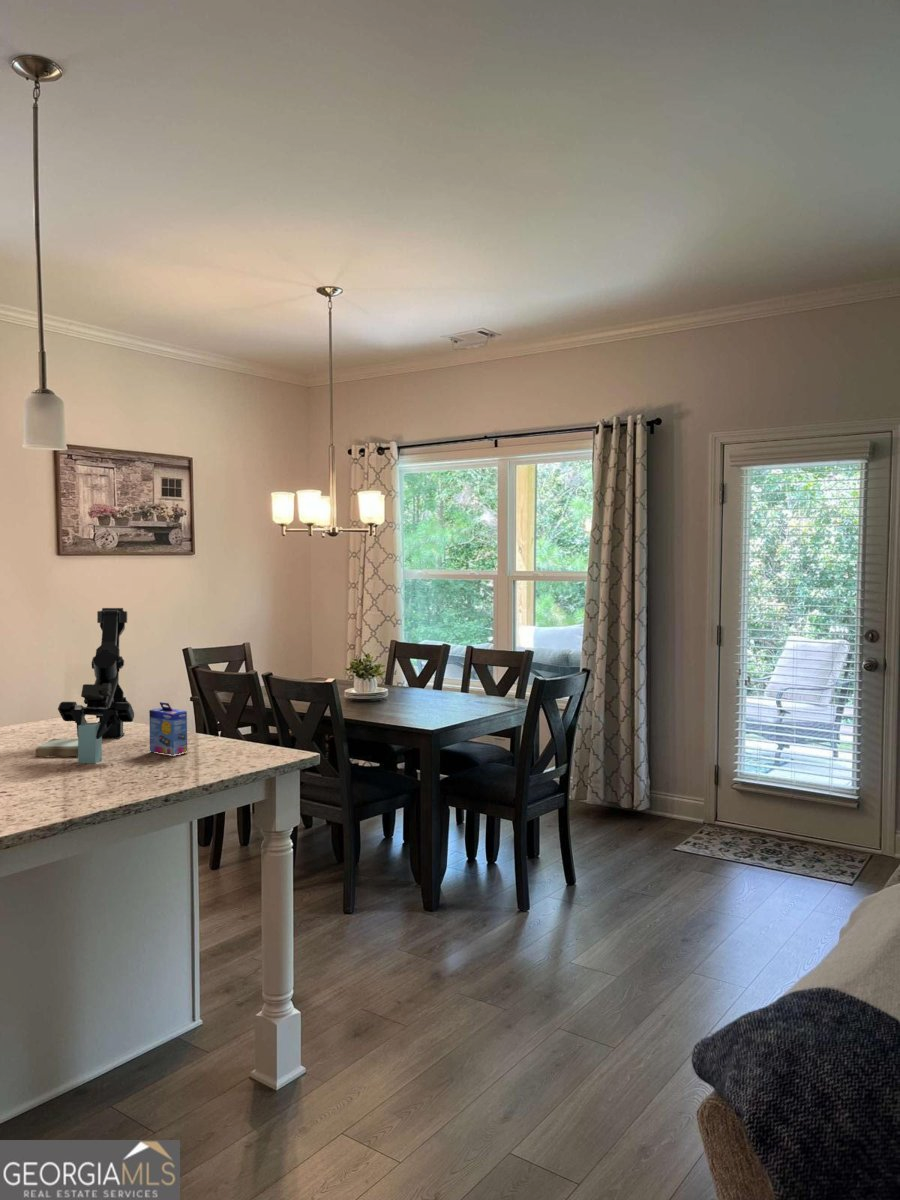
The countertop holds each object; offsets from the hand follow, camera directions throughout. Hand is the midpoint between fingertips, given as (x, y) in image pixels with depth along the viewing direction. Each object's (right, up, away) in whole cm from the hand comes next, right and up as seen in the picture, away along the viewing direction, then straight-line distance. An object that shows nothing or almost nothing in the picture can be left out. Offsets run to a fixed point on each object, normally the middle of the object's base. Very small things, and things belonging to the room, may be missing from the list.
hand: (88, 737), depth 229 cm
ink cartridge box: (+17, -7, +13) cm, 23 cm away
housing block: (0, -7, +2) cm, 7 cm away
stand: (-11, -6, +13) cm, 18 cm away
